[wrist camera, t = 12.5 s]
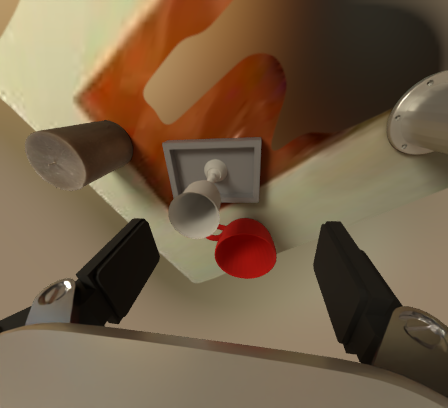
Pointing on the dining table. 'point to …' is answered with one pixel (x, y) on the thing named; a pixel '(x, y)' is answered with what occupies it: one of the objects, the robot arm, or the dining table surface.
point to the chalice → (199, 204)
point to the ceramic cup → (244, 249)
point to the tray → (221, 150)
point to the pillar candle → (78, 153)
